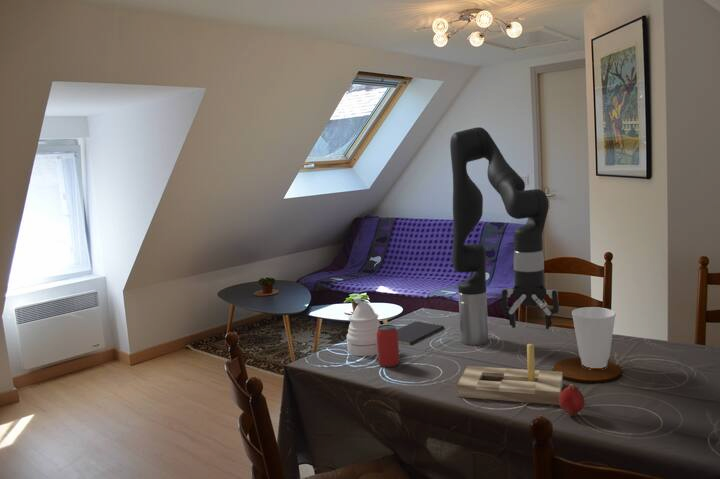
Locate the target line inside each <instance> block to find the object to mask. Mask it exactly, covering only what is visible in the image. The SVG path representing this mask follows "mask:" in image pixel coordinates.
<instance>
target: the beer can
mask: <svg viewBox="0 0 720 479" xmlns="http://www.w3.org/2000/svg"><path fill="white" fill-rule="evenodd" d="M377 347H378V354H377V358H378V359H377V360H378V361H377V362H378V364H379V365H380V366H381V367H384V368H393V367H395V366H396V367H397V366H398V365H399V364H400V350H399V349H400V348H399V343H398V333H397V327H396V326H395V325H393V324H381V326H379V327H378V331H377Z"/></svg>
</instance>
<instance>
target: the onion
mask: <svg viewBox="0 0 720 479" xmlns="http://www.w3.org/2000/svg"><path fill="white" fill-rule="evenodd" d="M559 403H560V405H559V406H560V408H561V409H562V411H564V412H565V413H566V414H568V415H569V416H571V417H574V416H575V415H577V414H578V413H579V412H581V411H582V410H583V409H584V407H585V398H584V395H583V393H582V391H581V390H579V389H578V388H577V387H575V386H574V384H572V383H569V385H568V386H567V387H565V388H564V389H562V392H561V394H560V396H559Z"/></svg>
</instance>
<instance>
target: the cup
mask: <svg viewBox="0 0 720 479" xmlns="http://www.w3.org/2000/svg"><path fill="white" fill-rule="evenodd" d="M571 315H572V320H573V327H574V332H575V337H576V344H577V350H578V356H579V358H580V362H581V366H582V365H584V366H586V367H590V368H603V367H606V366H607V367H608V360H609V359H610V355H611V347H612V340H613V333H614V326H615V320H616V319H615V318H616V312H615V311H614V310H612V309H610V308H604V307H599V306H598V307H596V306H588V307H587V306H585V307H580V308H575V309H573V310H572V311H571ZM607 367H606V368H607Z"/></svg>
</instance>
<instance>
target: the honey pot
mask: <svg viewBox="0 0 720 479" xmlns="http://www.w3.org/2000/svg"><path fill="white" fill-rule="evenodd" d="M353 301H354V303H355V304H357V305H356V307H355V309H354V310H353V313H352V314H349V315H348V320H349V321H350V322H349V325H348V329H347V332H348V333H347V334H346V345H347V346H346V348H347V354H349V355H352V356H355V357H368V356H369V357H370V356H375V355H378V347H377V331H378V327H379V326H381V325H382V324H381V323H380V321H379V319H378V318H379V314H378V313H376V312H375V311H374V309H373V308H372V306H371V305H370V304H369V303H368V302H367V301H365V300H364V301H362V297H361V296H355V297H353Z"/></svg>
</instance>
